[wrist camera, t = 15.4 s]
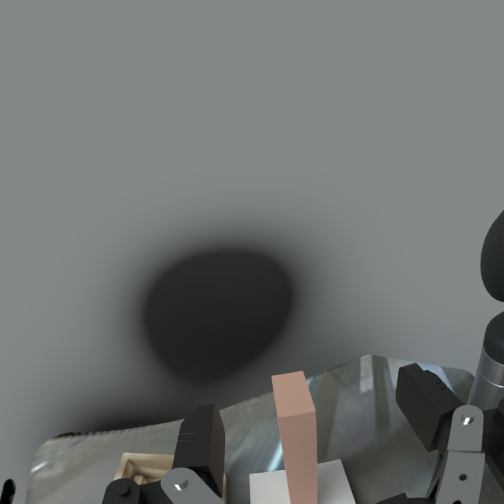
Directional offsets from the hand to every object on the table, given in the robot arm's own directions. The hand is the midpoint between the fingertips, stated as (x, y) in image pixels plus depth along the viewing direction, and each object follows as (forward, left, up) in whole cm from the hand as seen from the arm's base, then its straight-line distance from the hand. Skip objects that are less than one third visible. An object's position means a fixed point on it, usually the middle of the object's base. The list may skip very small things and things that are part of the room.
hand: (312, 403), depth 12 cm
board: (-10, -5, -29) cm, 31 cm away
